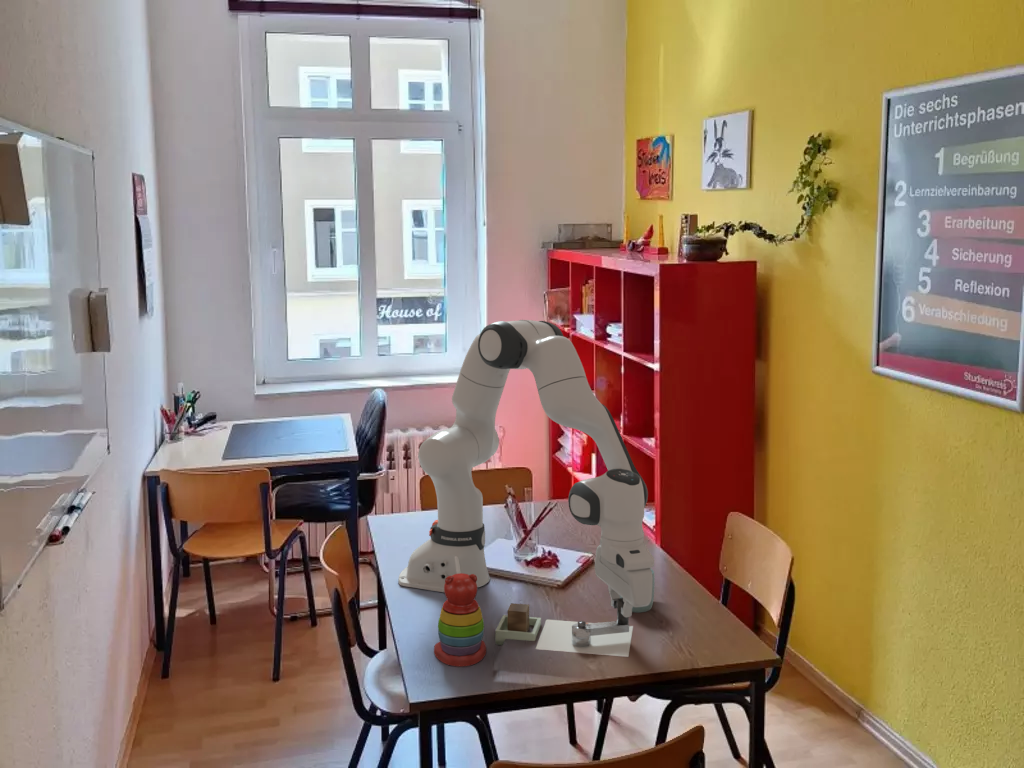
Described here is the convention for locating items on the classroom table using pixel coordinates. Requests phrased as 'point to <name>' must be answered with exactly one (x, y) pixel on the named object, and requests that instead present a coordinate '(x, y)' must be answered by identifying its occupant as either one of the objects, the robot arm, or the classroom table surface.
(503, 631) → the tray
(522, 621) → the block
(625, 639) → the crank plate
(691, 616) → the classroom table surface
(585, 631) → the crank
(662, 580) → the classroom table surface
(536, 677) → the classroom table surface
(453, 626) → the stacking bear
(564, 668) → the classroom table surface
